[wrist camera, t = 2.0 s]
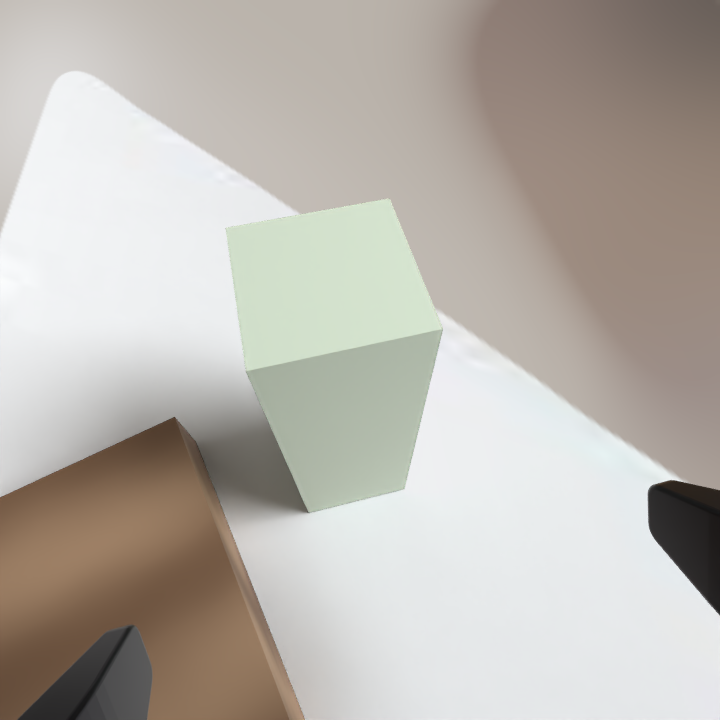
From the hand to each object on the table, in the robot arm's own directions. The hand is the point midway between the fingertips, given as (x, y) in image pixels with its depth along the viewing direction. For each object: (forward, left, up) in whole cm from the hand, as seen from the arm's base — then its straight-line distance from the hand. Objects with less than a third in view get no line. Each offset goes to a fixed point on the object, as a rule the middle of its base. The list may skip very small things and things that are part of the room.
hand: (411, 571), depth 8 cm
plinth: (-8, +6, -13) cm, 16 cm away
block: (+3, +6, -13) cm, 15 cm away
